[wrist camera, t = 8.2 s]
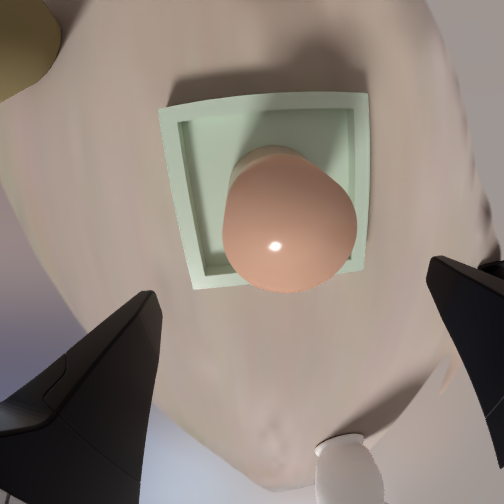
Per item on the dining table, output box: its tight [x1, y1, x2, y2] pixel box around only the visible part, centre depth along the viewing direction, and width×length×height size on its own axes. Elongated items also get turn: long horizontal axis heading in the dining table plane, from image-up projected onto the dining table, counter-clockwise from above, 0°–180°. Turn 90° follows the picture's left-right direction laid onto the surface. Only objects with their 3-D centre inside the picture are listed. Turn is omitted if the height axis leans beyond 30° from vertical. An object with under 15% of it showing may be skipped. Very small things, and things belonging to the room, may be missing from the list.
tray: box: [158, 92, 370, 290], centre depth 17 cm, size 12×12×2 cm
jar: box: [315, 434, 388, 504], centre depth 31 cm, size 11×10×15 cm
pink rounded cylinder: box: [222, 145, 357, 293], centre depth 15 cm, size 6×6×7 cm
